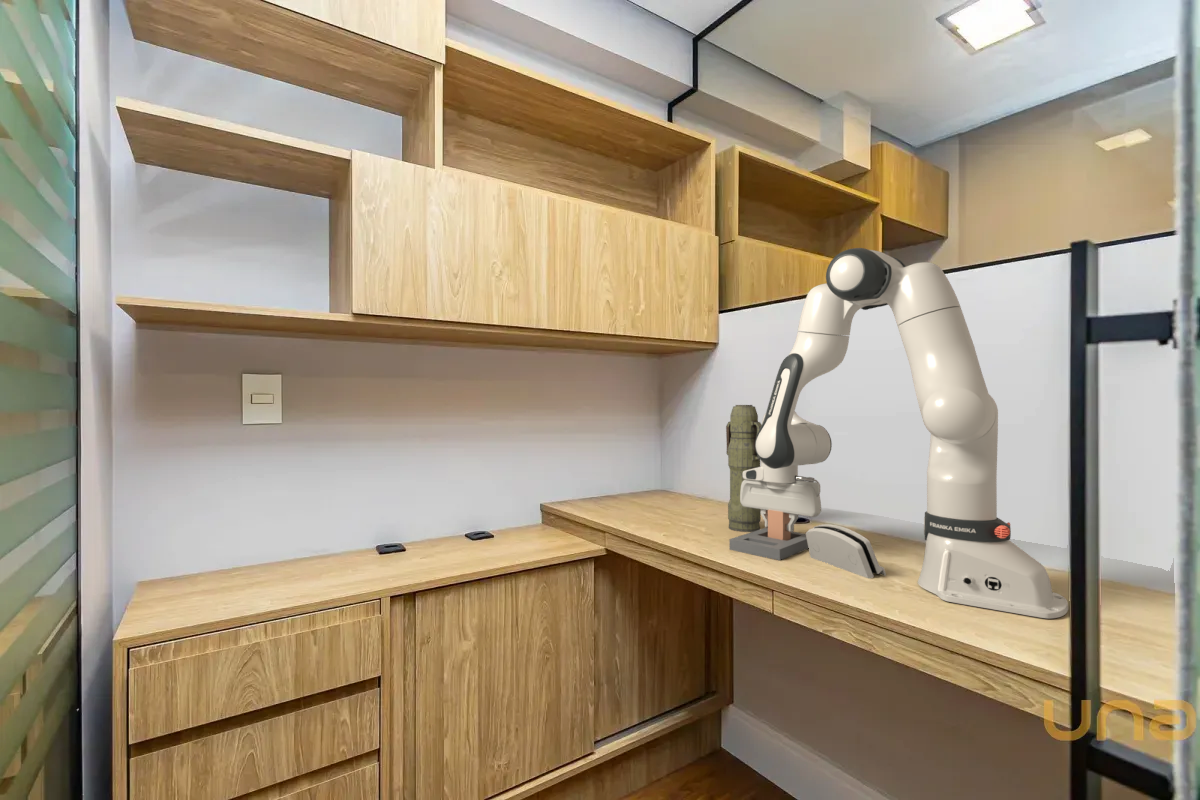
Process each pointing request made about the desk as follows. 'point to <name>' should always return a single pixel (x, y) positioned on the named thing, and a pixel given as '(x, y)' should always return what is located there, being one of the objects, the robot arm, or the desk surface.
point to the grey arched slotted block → (843, 550)
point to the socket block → (769, 544)
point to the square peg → (778, 525)
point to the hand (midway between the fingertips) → (779, 529)
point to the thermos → (742, 465)
